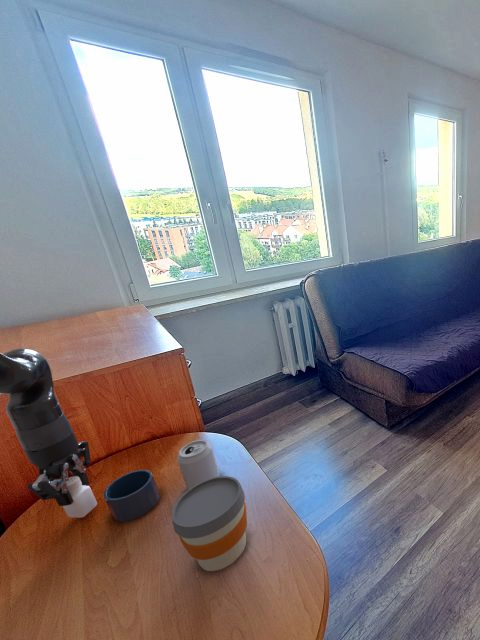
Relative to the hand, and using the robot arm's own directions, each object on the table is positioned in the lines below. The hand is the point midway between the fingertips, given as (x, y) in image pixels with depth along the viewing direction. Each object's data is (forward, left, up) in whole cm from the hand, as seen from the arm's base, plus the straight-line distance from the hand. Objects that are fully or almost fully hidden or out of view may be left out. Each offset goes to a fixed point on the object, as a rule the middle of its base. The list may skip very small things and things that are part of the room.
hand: (75, 494), depth 79 cm
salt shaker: (0, 0, -6) cm, 6 cm away
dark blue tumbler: (+6, -9, -6) cm, 13 cm away
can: (+17, -18, -6) cm, 26 cm away
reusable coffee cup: (+6, -39, -6) cm, 40 cm away
